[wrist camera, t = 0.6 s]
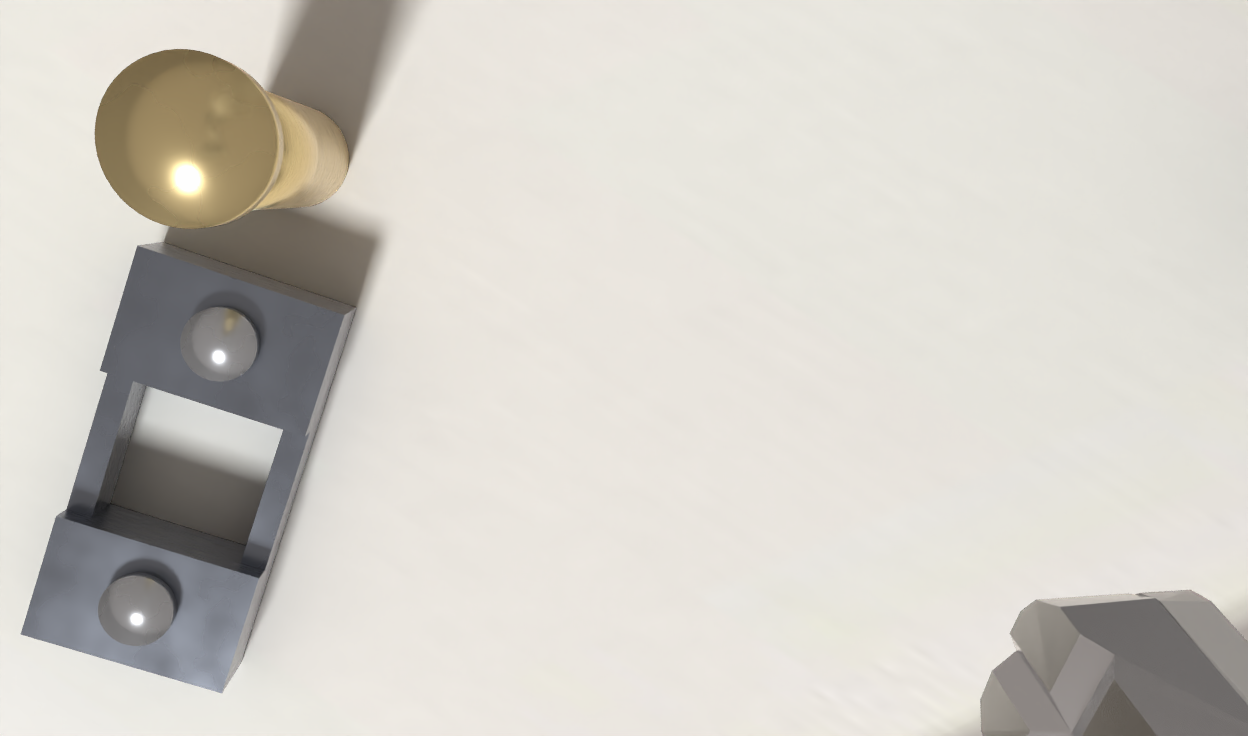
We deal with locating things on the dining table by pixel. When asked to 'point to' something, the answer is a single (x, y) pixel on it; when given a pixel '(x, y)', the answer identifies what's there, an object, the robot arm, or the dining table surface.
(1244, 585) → the dining table surface
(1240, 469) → the dining table surface
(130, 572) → the slotted clamp bar
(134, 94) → the pin
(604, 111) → the dining table surface
